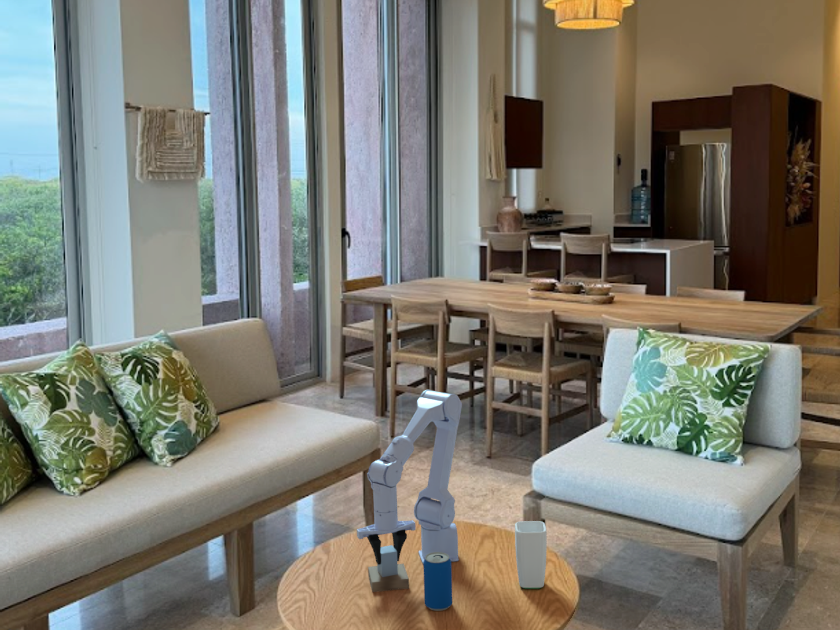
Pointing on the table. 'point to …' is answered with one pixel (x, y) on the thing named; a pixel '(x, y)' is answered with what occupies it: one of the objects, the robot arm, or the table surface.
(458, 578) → the table surface
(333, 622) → the table surface
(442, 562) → the beverage can
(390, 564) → the slate-blue block
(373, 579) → the taupe plinth
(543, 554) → the cup
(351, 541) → the table surface
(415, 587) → the table surface
